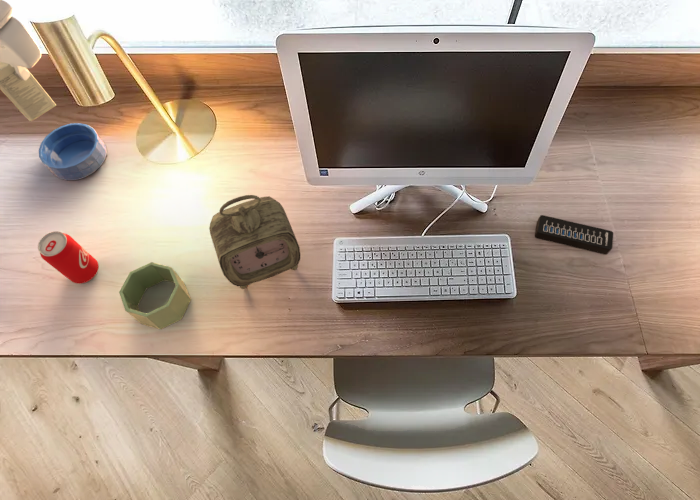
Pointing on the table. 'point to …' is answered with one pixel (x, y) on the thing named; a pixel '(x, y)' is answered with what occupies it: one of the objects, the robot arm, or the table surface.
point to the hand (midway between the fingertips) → (9, 74)
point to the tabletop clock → (253, 240)
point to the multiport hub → (574, 234)
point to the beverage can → (68, 257)
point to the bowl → (72, 151)
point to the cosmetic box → (24, 93)
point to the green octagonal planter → (147, 278)
